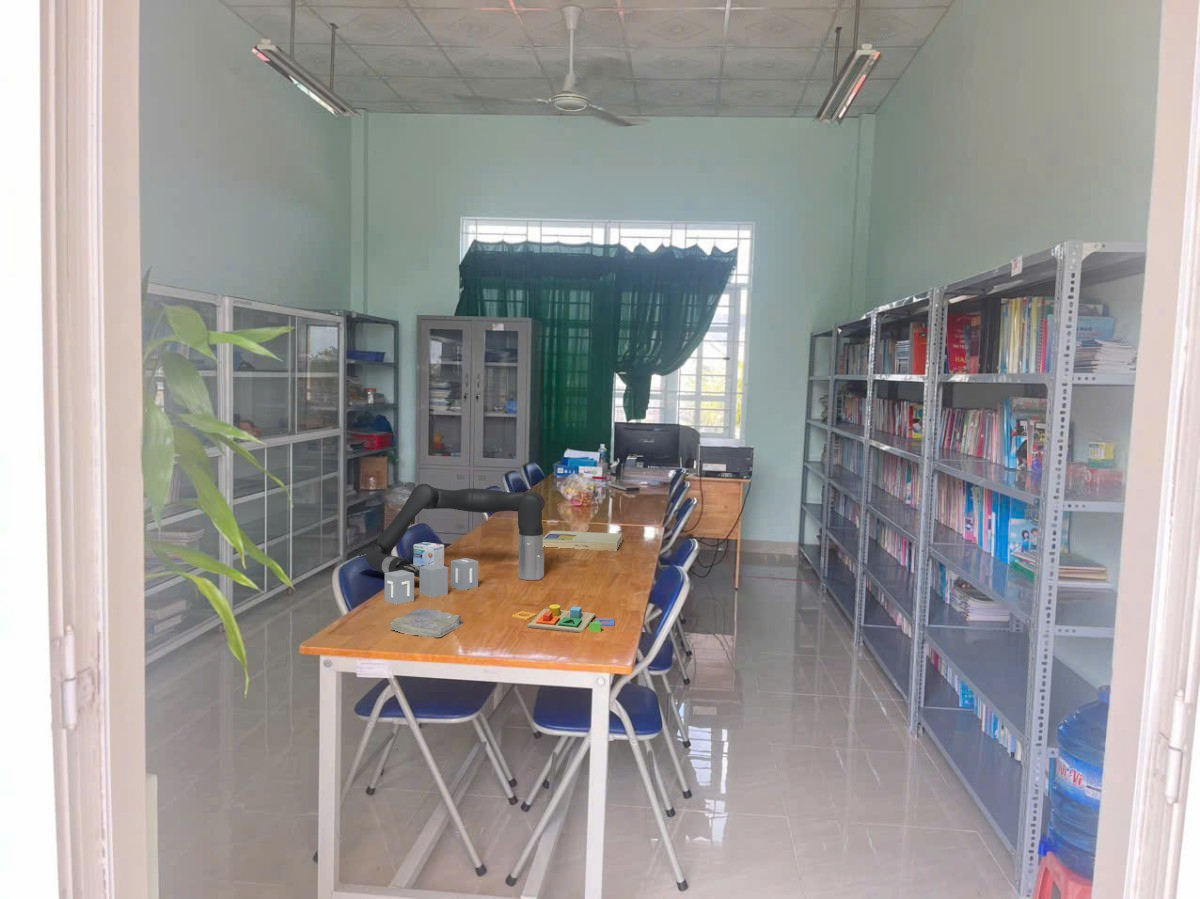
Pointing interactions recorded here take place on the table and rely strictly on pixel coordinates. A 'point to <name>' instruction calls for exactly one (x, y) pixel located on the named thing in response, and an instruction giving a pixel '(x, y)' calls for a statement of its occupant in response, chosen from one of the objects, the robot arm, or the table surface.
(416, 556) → the light bulb box
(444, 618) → the fossil
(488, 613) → the table surface
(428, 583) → the plain block
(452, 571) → the block marked 1
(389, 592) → the block marked 7
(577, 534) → the puzzle box
